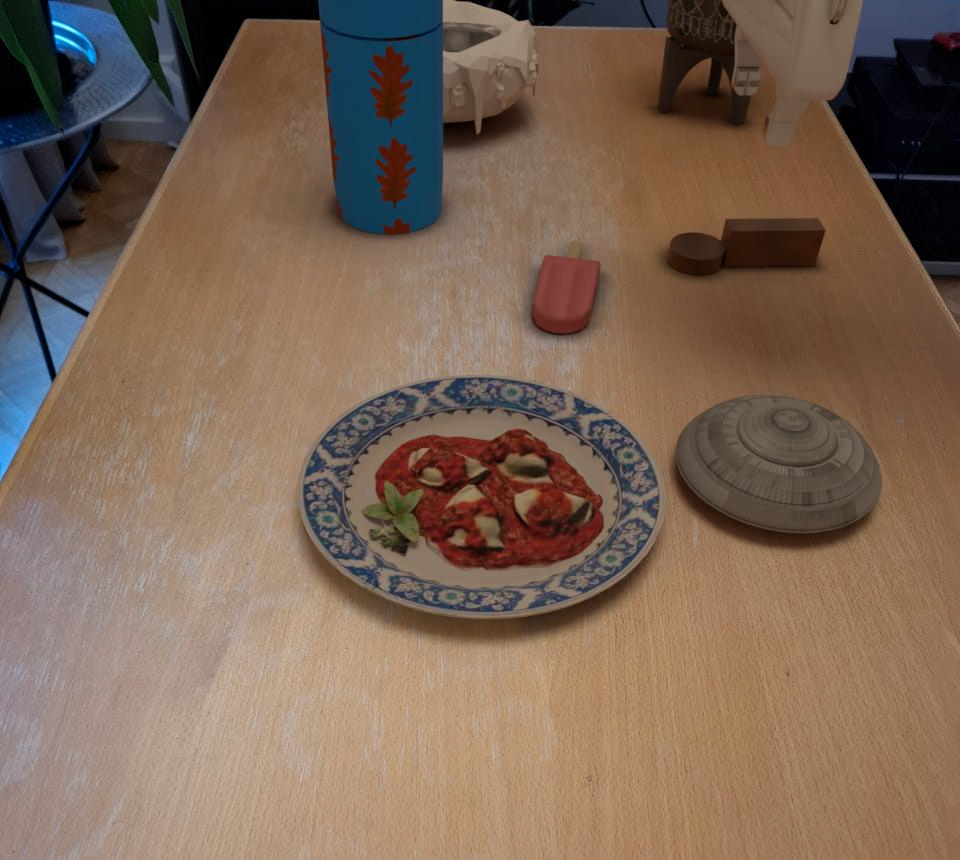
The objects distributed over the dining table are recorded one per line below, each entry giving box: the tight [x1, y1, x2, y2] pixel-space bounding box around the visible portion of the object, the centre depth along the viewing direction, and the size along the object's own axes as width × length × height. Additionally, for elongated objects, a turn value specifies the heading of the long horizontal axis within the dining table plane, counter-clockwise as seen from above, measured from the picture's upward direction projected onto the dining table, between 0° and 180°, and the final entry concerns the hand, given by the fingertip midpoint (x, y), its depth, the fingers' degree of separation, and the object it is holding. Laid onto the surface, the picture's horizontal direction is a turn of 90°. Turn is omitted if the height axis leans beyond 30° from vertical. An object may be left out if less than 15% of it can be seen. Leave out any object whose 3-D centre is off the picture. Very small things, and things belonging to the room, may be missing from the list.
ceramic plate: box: [296, 374, 667, 620], centre depth 70 cm, size 26×26×3 cm
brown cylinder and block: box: [667, 217, 826, 276], centre depth 94 cm, size 14×5×4 cm, turn 94°
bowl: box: [443, 0, 540, 135], centre depth 112 cm, size 21×20×10 cm
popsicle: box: [531, 240, 602, 335], centre depth 90 cm, size 5×2×15 cm
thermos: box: [317, 0, 444, 235], centre depth 91 cm, size 11×11×25 cm
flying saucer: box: [675, 393, 883, 534], centre depth 72 cm, size 15×15×6 cm
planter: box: [657, 0, 752, 126], centre depth 112 cm, size 13×13×18 cm
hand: (758, 116), depth 76 cm, fingers open, 8 cm apart
